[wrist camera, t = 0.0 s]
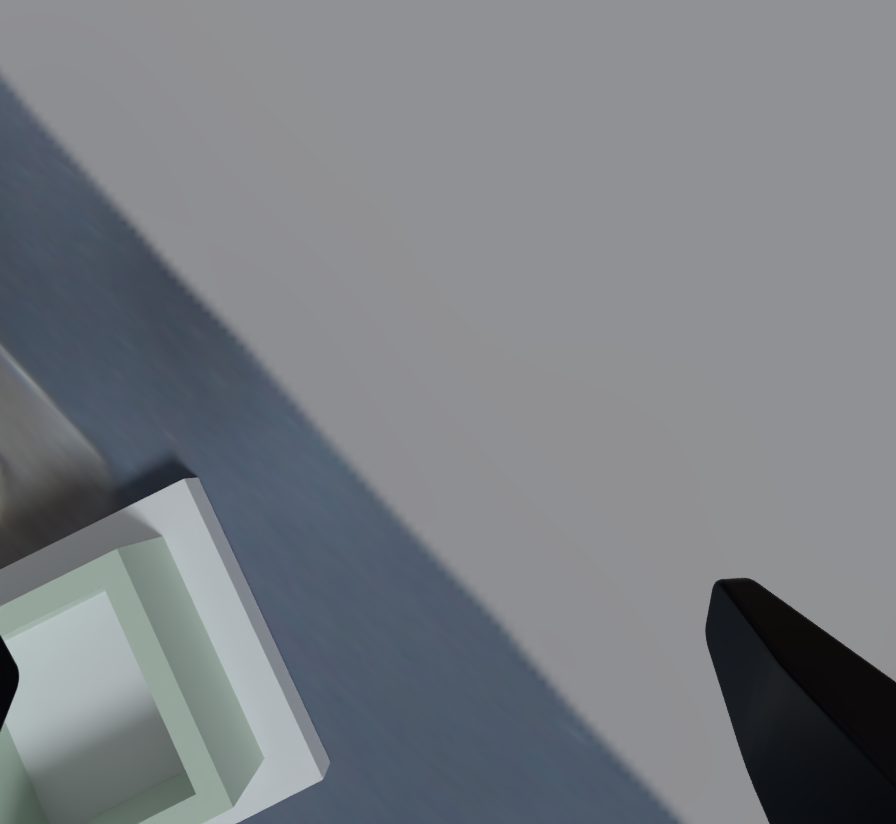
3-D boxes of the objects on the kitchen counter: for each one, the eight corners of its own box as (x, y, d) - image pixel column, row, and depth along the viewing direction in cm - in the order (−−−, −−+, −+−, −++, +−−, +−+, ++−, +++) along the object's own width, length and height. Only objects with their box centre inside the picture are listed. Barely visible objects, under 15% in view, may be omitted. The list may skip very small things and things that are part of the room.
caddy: (330, 762, 22) (301, 832, 18) (42, 907, 22) (-54, 1012, 18) (198, 477, 23) (141, 481, 19) (-81, 615, 23) (-201, 650, 19)
